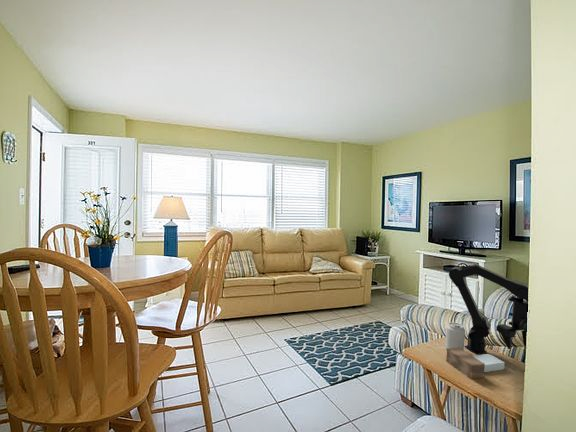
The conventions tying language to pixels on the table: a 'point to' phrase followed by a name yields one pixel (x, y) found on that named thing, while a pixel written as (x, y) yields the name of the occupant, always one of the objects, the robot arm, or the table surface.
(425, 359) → the table surface
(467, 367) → the wooden block
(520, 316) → the robot arm
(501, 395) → the table surface
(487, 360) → the panel
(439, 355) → the table surface
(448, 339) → the can
